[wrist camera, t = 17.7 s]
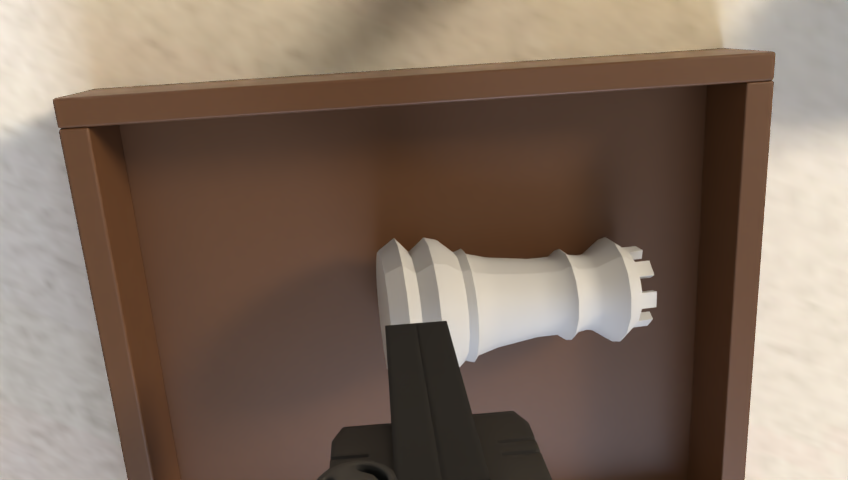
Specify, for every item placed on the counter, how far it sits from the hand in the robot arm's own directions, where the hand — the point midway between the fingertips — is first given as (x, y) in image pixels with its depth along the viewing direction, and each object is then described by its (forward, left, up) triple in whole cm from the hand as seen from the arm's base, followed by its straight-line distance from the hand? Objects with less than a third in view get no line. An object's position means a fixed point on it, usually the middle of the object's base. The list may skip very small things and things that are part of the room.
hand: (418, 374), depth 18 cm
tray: (+2, +1, -7) cm, 7 cm away
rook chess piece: (0, -1, -4) cm, 4 cm away
